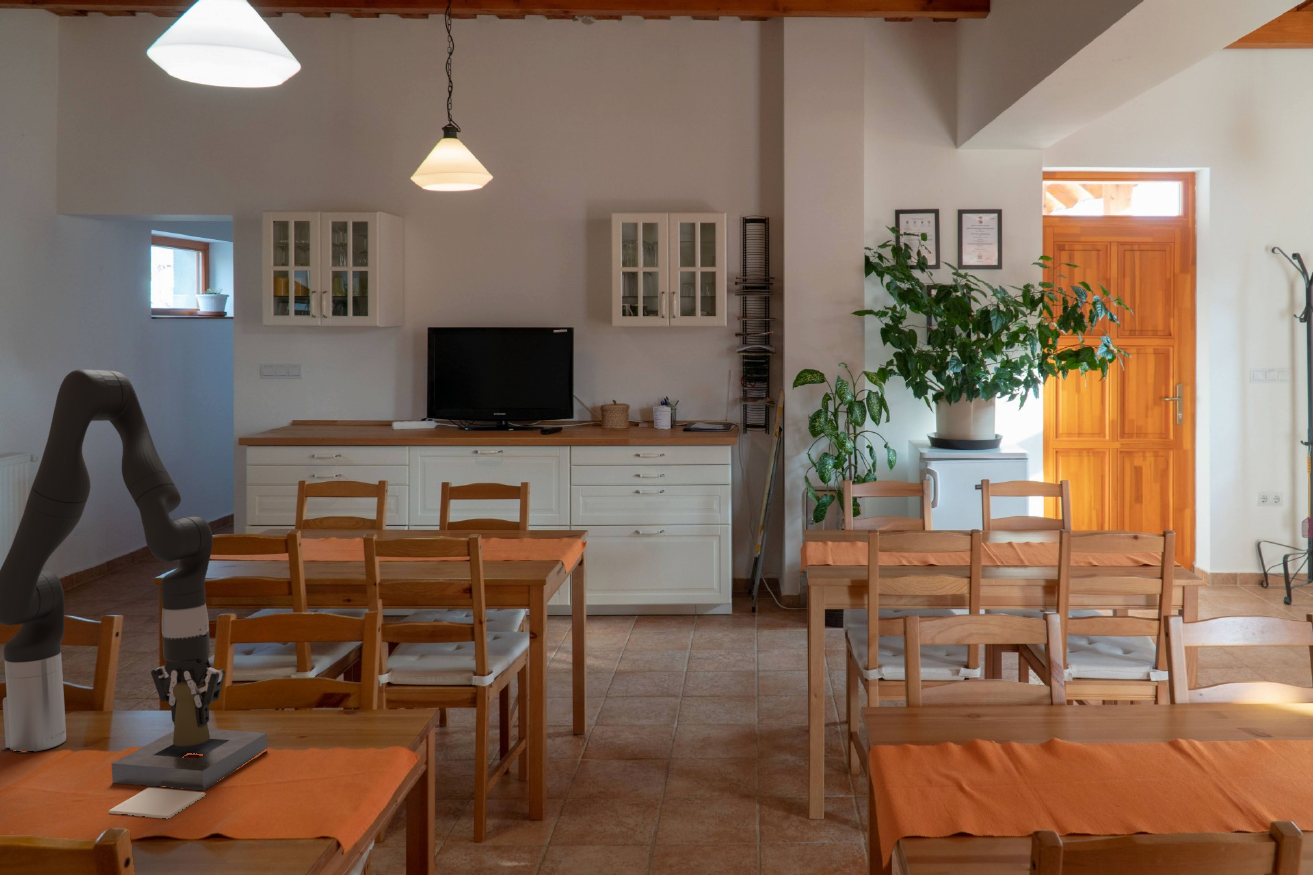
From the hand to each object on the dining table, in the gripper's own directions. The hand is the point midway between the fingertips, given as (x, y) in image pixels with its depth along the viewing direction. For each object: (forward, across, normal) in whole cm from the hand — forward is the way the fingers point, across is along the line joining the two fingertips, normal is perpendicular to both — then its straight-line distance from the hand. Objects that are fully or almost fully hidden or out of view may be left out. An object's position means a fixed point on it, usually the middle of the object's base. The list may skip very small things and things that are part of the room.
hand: (191, 724), depth 183 cm
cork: (+3, 0, 0) cm, 3 cm away
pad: (+8, +5, -15) cm, 18 cm away
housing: (+8, 0, 0) cm, 8 cm away
